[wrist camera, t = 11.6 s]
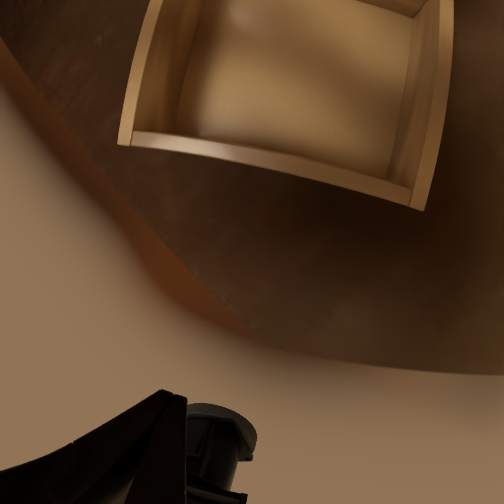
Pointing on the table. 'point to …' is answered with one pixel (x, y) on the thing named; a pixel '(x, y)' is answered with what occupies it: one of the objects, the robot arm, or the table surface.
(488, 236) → the table surface
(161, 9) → the chest
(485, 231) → the table surface
